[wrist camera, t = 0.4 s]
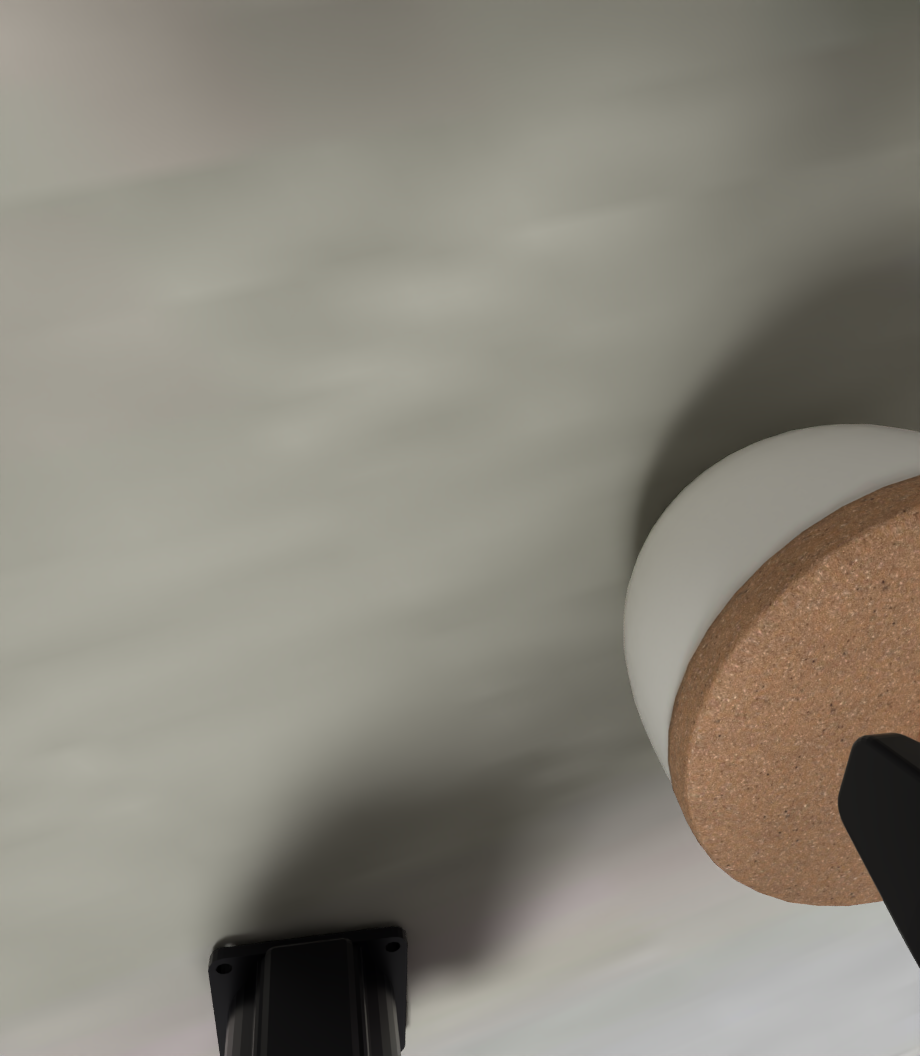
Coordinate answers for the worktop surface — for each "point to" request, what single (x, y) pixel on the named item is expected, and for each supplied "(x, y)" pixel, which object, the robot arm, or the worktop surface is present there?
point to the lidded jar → (781, 646)
